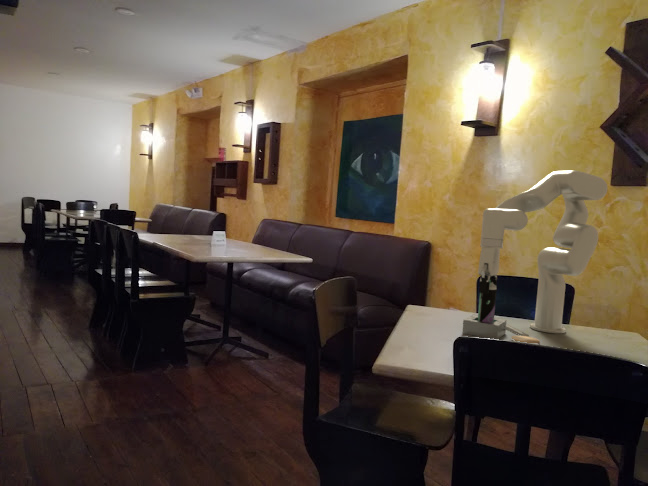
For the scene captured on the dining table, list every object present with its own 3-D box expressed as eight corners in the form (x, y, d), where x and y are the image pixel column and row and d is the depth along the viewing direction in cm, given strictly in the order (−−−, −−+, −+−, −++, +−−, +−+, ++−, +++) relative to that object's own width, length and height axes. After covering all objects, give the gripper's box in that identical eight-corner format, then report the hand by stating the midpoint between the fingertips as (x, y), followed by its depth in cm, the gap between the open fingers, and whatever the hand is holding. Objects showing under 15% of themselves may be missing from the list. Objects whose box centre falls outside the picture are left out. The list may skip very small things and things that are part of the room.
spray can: (484, 336, 177) (489, 279, 175) (473, 332, 182) (477, 277, 180) (495, 335, 179) (500, 279, 178) (484, 331, 184) (489, 277, 183)
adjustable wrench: (530, 339, 178) (530, 334, 178) (512, 338, 178) (513, 333, 178) (500, 322, 203) (501, 318, 203) (485, 321, 203) (485, 317, 202)
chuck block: (472, 327, 189) (473, 314, 188) (505, 333, 182) (506, 320, 182) (462, 333, 179) (463, 319, 178) (496, 340, 172) (498, 325, 172)
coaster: (514, 336, 179) (514, 334, 179) (541, 341, 174) (541, 339, 174) (508, 341, 171) (508, 338, 171) (536, 346, 167) (536, 344, 167)
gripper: (487, 242, 187) (483, 287, 189) (473, 243, 173) (469, 292, 174) (508, 243, 183) (504, 290, 184) (496, 245, 169) (492, 296, 170)
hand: (487, 291), depth 179 cm, fingers open, 9 cm apart
